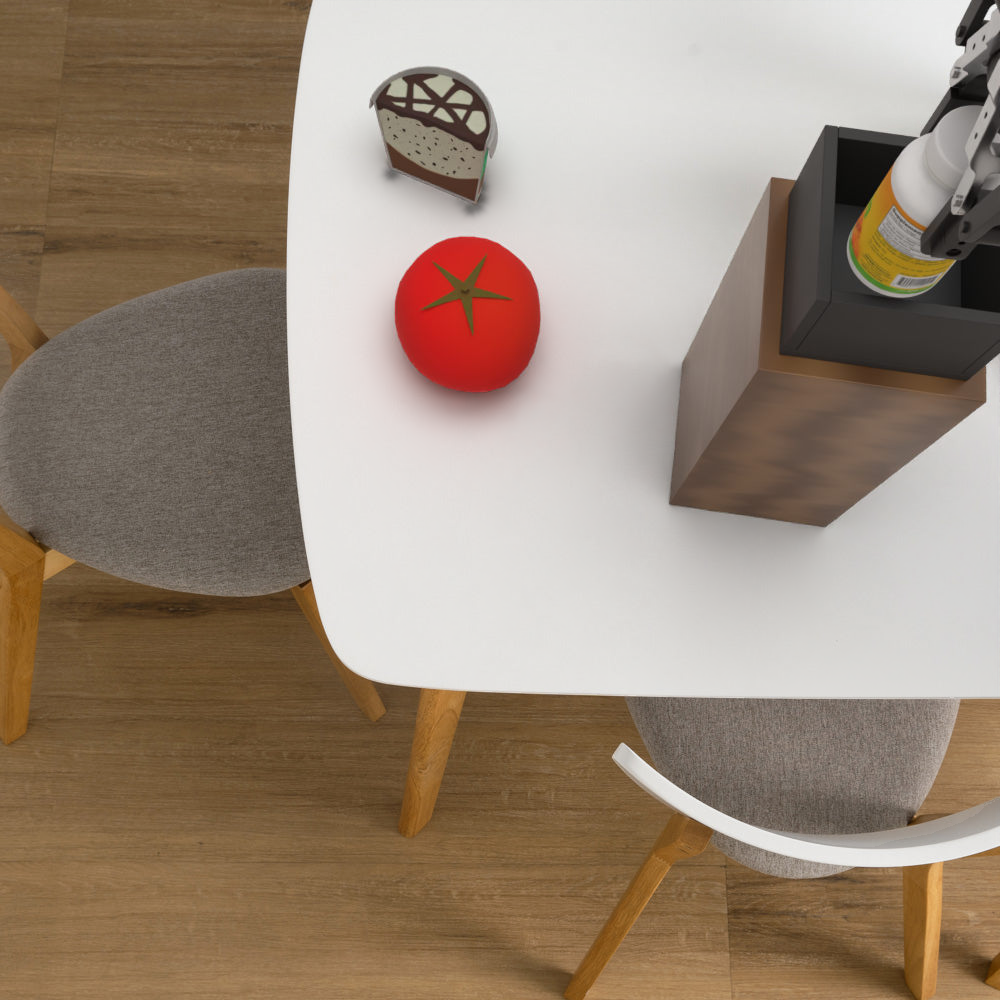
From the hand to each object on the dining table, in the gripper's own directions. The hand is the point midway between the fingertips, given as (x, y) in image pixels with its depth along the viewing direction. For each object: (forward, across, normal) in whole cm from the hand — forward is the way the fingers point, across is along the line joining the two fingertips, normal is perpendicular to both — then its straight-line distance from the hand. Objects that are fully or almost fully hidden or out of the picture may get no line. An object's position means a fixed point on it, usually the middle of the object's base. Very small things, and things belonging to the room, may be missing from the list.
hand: (939, 196), depth 48 cm
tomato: (+41, +9, +25) cm, 49 cm away
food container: (+41, +28, +30) cm, 58 cm away
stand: (+41, +3, -2) cm, 41 cm away
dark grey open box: (+13, +3, -2) cm, 14 cm away
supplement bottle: (+6, 0, 0) cm, 6 cm away
